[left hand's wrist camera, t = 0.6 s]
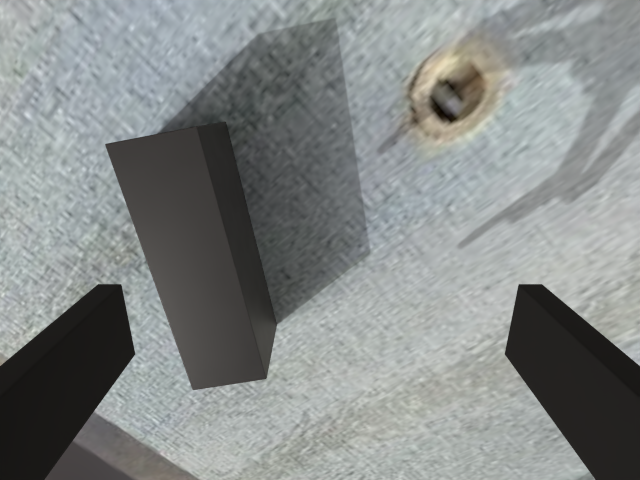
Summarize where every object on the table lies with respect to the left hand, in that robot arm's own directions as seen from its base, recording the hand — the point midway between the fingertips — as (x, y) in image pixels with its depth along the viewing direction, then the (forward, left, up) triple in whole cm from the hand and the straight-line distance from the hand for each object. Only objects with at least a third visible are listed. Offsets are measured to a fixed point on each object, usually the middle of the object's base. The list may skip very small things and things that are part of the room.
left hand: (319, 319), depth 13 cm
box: (+7, -10, -27) cm, 30 cm away
